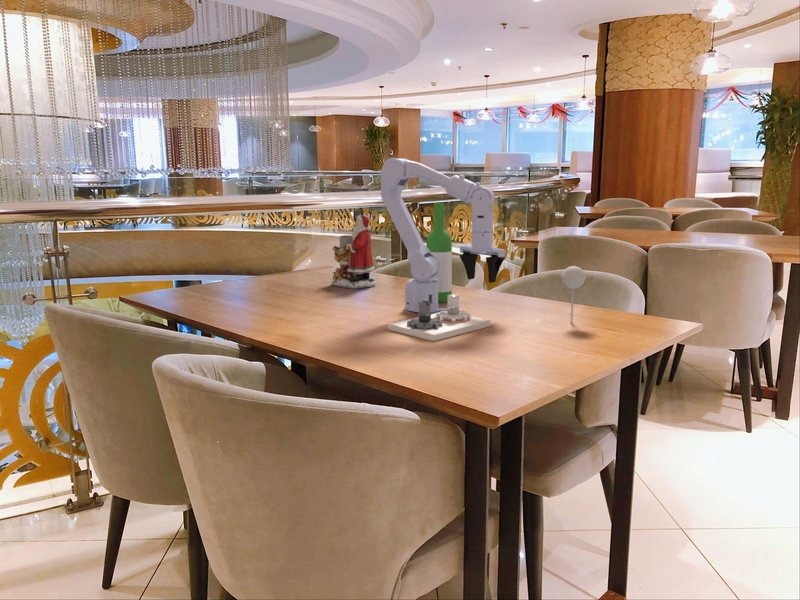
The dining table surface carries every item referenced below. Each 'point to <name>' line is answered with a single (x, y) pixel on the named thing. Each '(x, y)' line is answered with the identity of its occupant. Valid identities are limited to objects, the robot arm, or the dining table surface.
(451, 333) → the gear board
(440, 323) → the crank gear
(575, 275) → the lollipop
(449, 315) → the aluminium gear
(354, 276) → the santa figurine
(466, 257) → the robot arm
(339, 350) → the dining table surface
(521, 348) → the dining table surface
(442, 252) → the wine bottle
